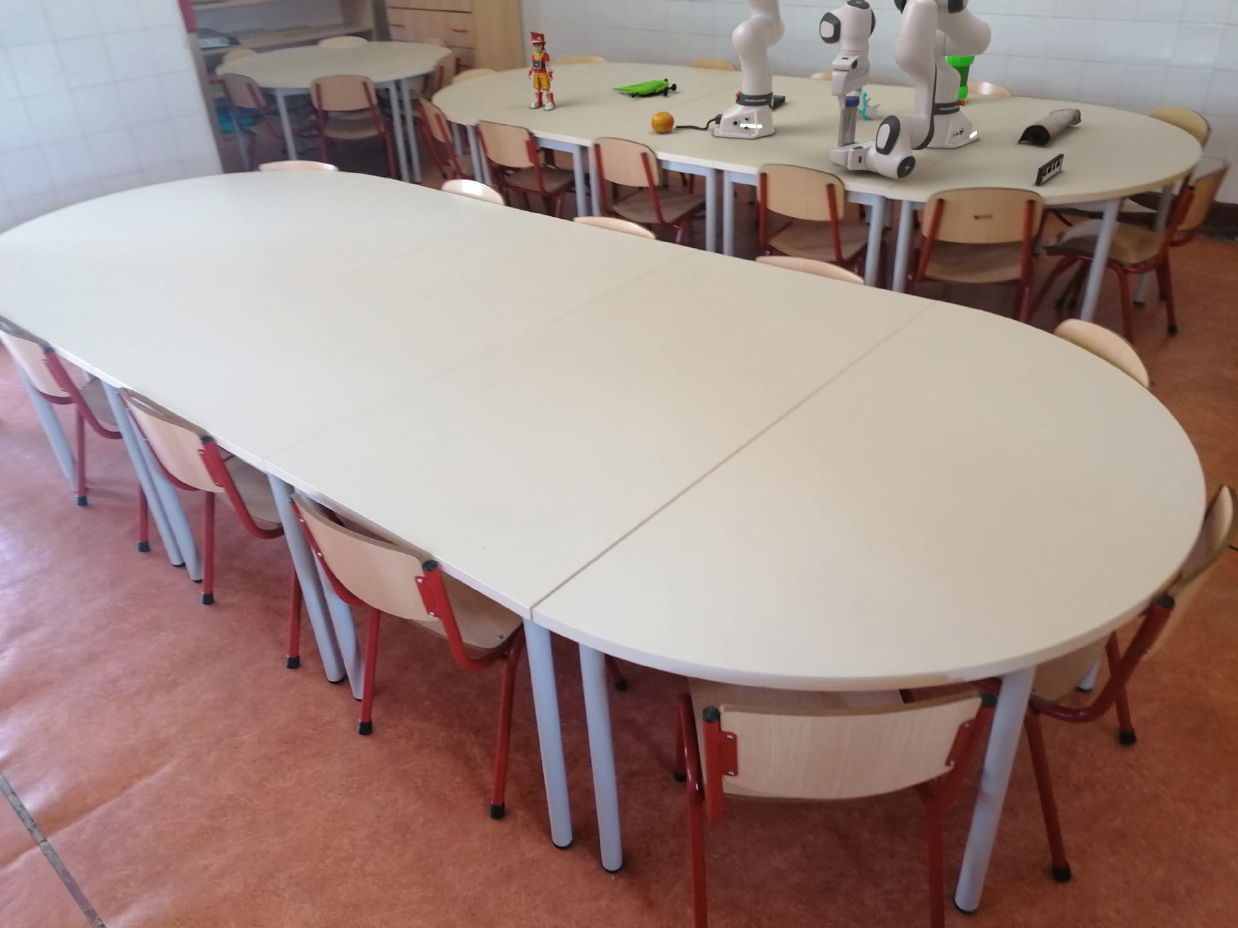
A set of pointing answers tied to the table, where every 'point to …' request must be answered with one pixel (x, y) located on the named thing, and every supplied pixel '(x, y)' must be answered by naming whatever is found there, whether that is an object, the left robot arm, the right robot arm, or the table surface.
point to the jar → (847, 126)
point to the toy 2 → (648, 88)
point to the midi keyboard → (1049, 169)
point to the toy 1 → (541, 71)
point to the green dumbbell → (961, 72)
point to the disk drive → (778, 100)
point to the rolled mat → (1050, 126)
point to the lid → (852, 101)
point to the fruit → (662, 122)
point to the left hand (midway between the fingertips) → (849, 105)
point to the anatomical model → (867, 107)
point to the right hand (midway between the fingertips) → (843, 146)
